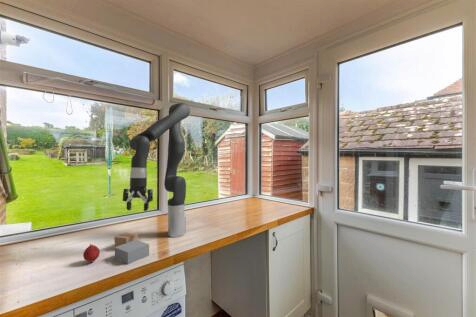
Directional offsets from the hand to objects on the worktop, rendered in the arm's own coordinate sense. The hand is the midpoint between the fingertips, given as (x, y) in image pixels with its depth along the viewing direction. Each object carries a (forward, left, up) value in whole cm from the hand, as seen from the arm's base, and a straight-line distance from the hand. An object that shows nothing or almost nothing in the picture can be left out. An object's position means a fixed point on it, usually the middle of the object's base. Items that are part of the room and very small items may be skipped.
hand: (137, 210), depth 108 cm
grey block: (+7, +7, -18) cm, 21 cm away
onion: (+19, -3, -19) cm, 27 cm away
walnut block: (+2, -6, -19) cm, 20 cm away
